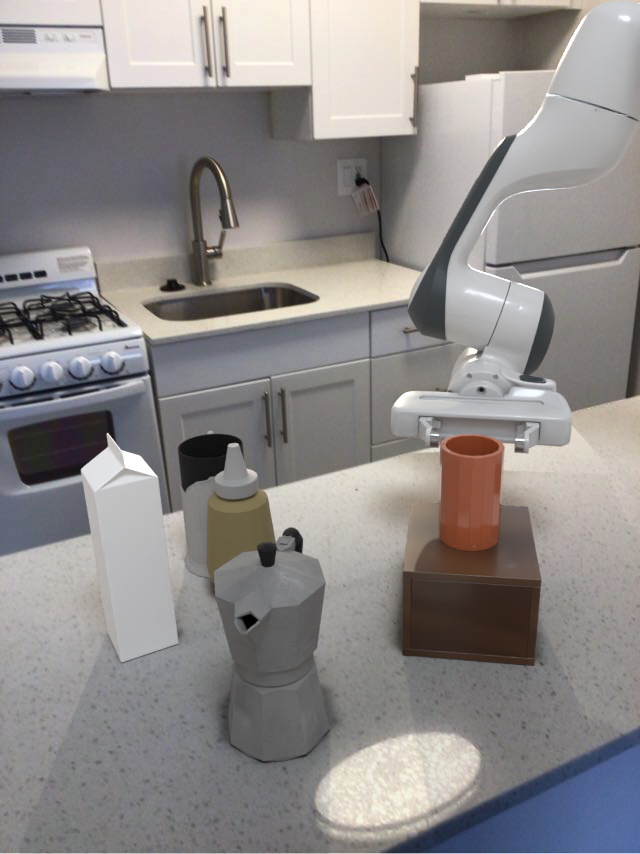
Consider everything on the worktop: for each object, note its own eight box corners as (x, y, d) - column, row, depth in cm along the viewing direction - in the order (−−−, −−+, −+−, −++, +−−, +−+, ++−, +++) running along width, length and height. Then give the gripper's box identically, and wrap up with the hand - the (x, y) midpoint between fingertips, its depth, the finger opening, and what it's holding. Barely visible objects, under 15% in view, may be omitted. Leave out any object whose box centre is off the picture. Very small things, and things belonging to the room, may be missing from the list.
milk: (121, 664, 75) (87, 460, 67) (106, 631, 80) (73, 438, 72) (180, 643, 77) (154, 445, 69) (162, 613, 82) (136, 425, 74)
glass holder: (184, 581, 88) (170, 464, 83) (185, 524, 101) (174, 419, 96) (259, 573, 89) (250, 456, 84) (251, 517, 102) (243, 413, 97)
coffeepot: (313, 792, 59) (303, 597, 53) (200, 773, 61) (178, 584, 55) (350, 665, 73) (346, 498, 67) (257, 654, 75) (244, 491, 69)
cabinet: (410, 574, 88) (411, 500, 84) (522, 581, 86) (528, 506, 82) (402, 655, 74) (402, 571, 71) (534, 665, 72) (541, 579, 69)
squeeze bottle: (264, 617, 81) (253, 464, 74) (196, 605, 84) (180, 456, 77) (291, 577, 88) (283, 434, 82) (228, 567, 91) (215, 428, 84)
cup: (491, 520, 79) (496, 432, 76) (505, 550, 74) (510, 456, 70) (434, 523, 79) (436, 434, 76) (443, 552, 74) (446, 458, 70)
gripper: (397, 373, 95) (380, 411, 82) (569, 380, 90) (577, 421, 77) (397, 420, 97) (380, 464, 84) (564, 429, 92) (572, 477, 80)
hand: (476, 444), depth 81 cm, fingers open, 8 cm apart
